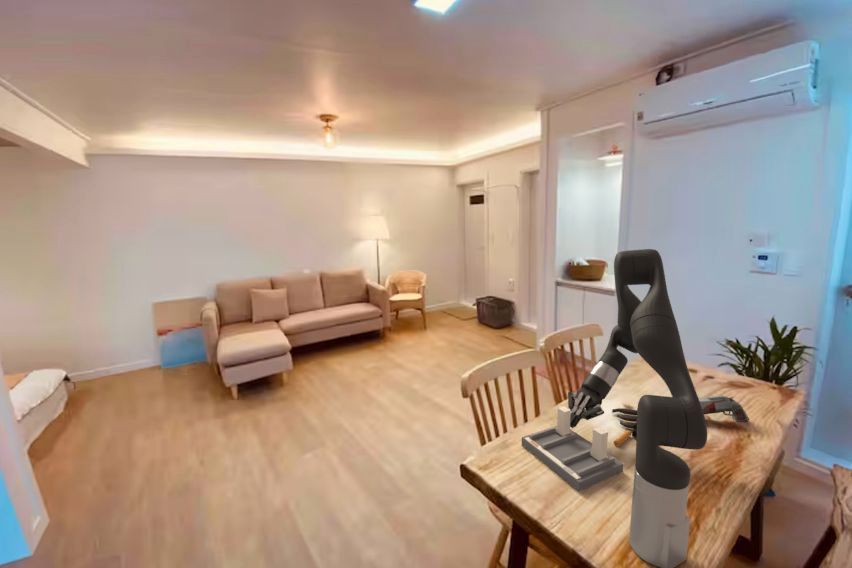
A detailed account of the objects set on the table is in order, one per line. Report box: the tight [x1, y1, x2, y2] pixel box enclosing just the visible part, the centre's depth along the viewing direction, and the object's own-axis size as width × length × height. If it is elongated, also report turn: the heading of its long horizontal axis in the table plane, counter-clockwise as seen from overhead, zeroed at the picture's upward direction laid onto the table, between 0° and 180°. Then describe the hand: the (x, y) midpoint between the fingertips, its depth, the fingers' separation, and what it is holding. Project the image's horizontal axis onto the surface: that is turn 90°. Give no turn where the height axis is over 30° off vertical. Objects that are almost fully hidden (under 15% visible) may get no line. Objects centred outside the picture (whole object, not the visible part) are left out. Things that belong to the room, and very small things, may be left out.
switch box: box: [521, 425, 624, 492], centre depth 108 cm, size 22×16×4 cm
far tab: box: [556, 405, 571, 436], centre depth 115 cm, size 4×2×8 cm, turn 25°
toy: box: [611, 407, 637, 447], centre depth 121 cm, size 23×4×30 cm
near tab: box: [590, 426, 609, 461], centre depth 103 cm, size 4×2×8 cm, turn 25°
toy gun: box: [698, 394, 750, 423], centre depth 126 cm, size 4×20×10 cm, turn 81°
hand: (569, 425), depth 116 cm, fingers closed
